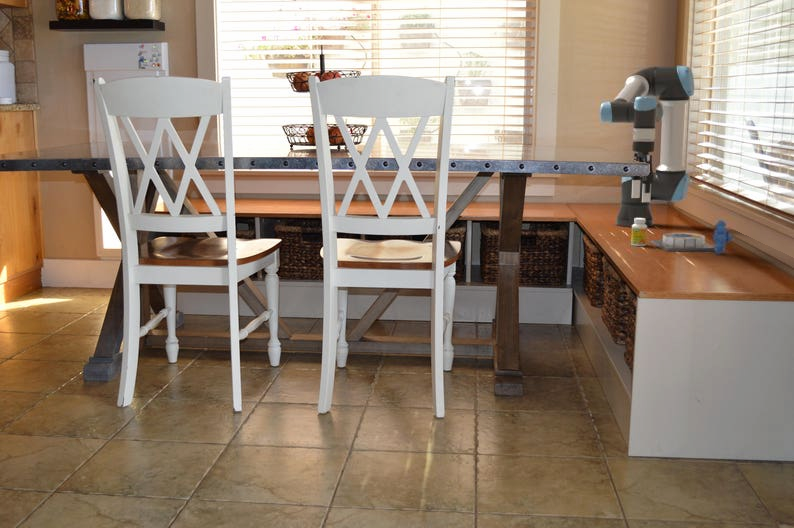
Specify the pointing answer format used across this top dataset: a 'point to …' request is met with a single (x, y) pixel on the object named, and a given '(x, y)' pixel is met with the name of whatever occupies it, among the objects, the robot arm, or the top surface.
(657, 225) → the top surface
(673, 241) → the hub plate
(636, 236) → the supplement bottle
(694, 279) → the top surface
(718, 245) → the grapes
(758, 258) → the top surface
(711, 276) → the top surface
